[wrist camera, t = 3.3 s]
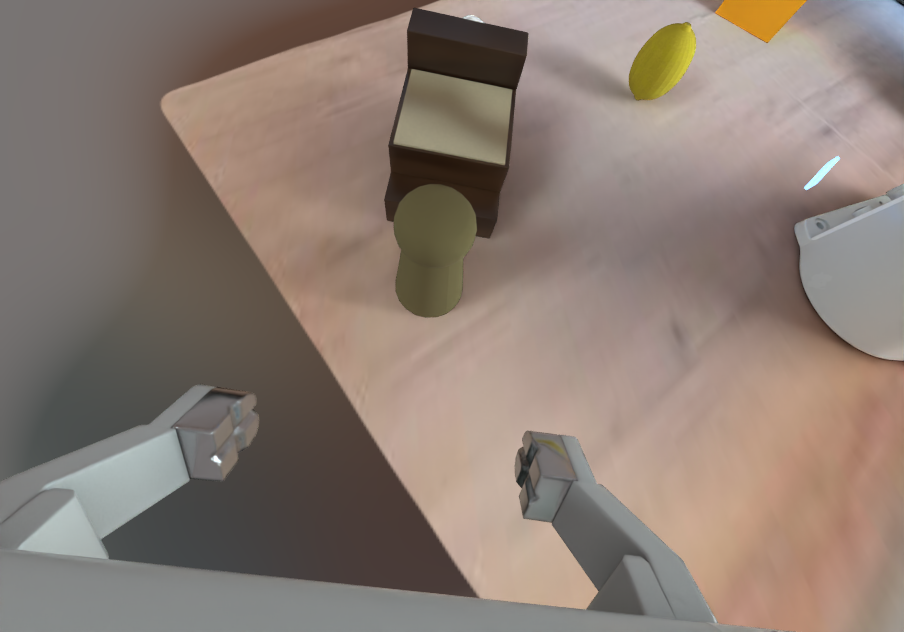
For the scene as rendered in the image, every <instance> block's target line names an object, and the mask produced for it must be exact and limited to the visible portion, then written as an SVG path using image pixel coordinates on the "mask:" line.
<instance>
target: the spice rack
mask: <svg viewBox="0 0 904 632" xmlns="http://www.w3.org/2000/svg"><path fill="white" fill-rule="evenodd" d="M527 45H528V32H523V31H518V30H514V29H509V28H505V27H500V26H495V25H491V24H486V23H482V22H477V21H473V20H468V19H463V18H459V17H454V16H450V15H445V14H440V13H436V12H431V11H427V10H422V9H418V8H413V11H412V15H411V18H410V22H409V26H408V29H407V49H408V70H407V74H406V78H405V82H404V86H403V90H402V94H401V98H400V102H399V105H398V109H397V113H396V117H395V121H394V125H393V129H392V133H391V137H390V141H389V145H388V146H389V157H390V167H391V174H390V178H389V182H388V187H387V191H386V195H385V199H384V201H385V208H386V216H387V220H388V221H394V216H395V213H396V211H397V208H398V205H399V203H400V202H401V200H402V199H403V198H404V197H405V196H406V195H407V194H408V193H409V192H411V191H413V190H414V189H416V188H418V187H420V186H424V185H428V184H441V185H445V186H448V187H452V188H453V189H455V190H457V191H458V192H460V193H461V194H462V195H463V196H464V197H465V198H466V199H467V200H468V201H469V203H470V204H471V206H472V208H473V210H474V212H475V215H476V224H477V232H476V236H479V237H485V238H490V236H491V234H492V232H493V229H494V227H495V224H496V222H497V216H498V206H499V196H500V191H501V188H502V185H503V183H504V180H505V177H506V175H507V172H508V169H509V161H510V151H511V140H512V129H513V118H514V107H515V96H516V89H517V86H518V83H519V79H520V76H521V73H522V70H523V66H524V63H525V60H526V56H527Z"/></svg>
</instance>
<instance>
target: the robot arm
mask: <svg viewBox="0 0 904 632" xmlns="http://www.w3.org/2000/svg"><path fill="white" fill-rule="evenodd" d="M839 159H840V158H839V157H838V156H837V157H836V158H834V159H832V160H831V161H829V162H828V163H827V164H826V165H825V166H824V167H823V168H822V169H821V170H820V171H819V172H818V173H817V174H816V175H815V176H814V178H813V179H812V180H811V181H810V182H809V183H808V184H807V185H806V186H805V187H804V188H805V189H806V190H807V189H809V188H811V187H812V186H814V185H816V184H817V183H818V182H819V181H820V180H821V179H822V178H823V177H824V175H825V174H826V173H827V172H828V171H829V170H830V169H831V168H832V167H833V166H834V165H835V163H836V162H837V161H838V160H839ZM886 193H887V194H886V195H882V196H879V197H876V198H872V199H869V200H866V201H863V202H860V203H856V204H853V205H850V206H847V207H843V208H840V209H837V210H834V211H830V212H827V213H824V214H821V215H817V216H814V217H811V218H808V219H805V220H803V221H800V222H798V223H796V224H795V227H794V230H795V234H796V238H797V240H798V243H799V246H800V263H799V268H800V276H801V280H802V284H803V287H804V290H805V292H806V294H807V296H808V298H809V300H810V302H811V304H812V305H813V307H814V308H815V310H816V311H817V313H818V314H819V315H820V317H821V318H822V319H823V320H824V322H825V323H826V324H827V325H828V326H829V327H830V328H831V329H832V330H833V331H834V332H835V333H836V334H838V335H839V336H840V337H841V338H842V339H844V340H845V341H846V342H848V343H849V344H851V345H852V346H854V347H856V348H857V349H859V350H861V351H863V352H865V353H867V354H870V355H872V356H875V357H878V358H883V359H888V360H899V361H904V184H902V185H900V186H898V187H896V188H894V189H892V190H890V191H888V192H886ZM256 404H257V401H256V395H255V394H254V393H251V392H246V391H240V390H234V389H227V388H221V387H213V386H206V385H201V384H200V385H197V386H193V387H192V388H191V389H190V390H189V391H187V392H186V393H185V394H184V395H183V396H181V397H180V398H179V399H178V400H177V401H176V402H174V403H173V404H172V405H171V406H170V407H169V408H167V409H166V410H165V411H164V412H163V413H162V414H160V415H159V416H158V417H157V418H156V419H155V420H153V421H152V422H151V423H150V424H149V425H139V426H137V427H134V428H132V429H129V430H127V431H124V432H122V433H119V434H117V435H114V436H112V437H109V438H107V439H104V440H102V441H99V442H97V443H94V444H92V445H89V446H87V447H84V448H81V449H79V450H77V451H74V452H71V453H69V454H67V455H64V456H61V457H59V458H56V459H54V460H52V461H49V462H46V463H44V464H41V465H39V466H36V467H34V468H31V469H29V470H26V471H24V472H21V473H19V474H16V475H14V476H11V477H9V478H6V479H4V480H2V481H1V482H0V632H794V631H785V630H775V629H766V628H756V627H747V626H737V625H728V624H718V622H717V620H716V619H715V617H714V615H713V613H712V611H711V610H710V608H709V606H708V604H707V602H706V601H705V599H704V597H703V595H702V594H701V592H700V590H699V588H698V586H697V585H696V583H695V581H694V579H693V578H692V576H691V574H690V572H689V570H688V569H687V567H686V565H685V563H684V561H683V560H682V559H681V558H680V557H679V556H678V555H677V554H676V553H675V552H673V551H672V550H671V549H670V548H669V547H668V546H667V545H666V544H665V543H664V542H663V541H662V540H661V539H660V538H659V537H657V536H656V535H655V534H654V533H653V532H652V531H651V530H650V529H649V528H648V527H647V526H646V525H645V524H644V523H642V522H641V521H640V520H639V519H638V518H637V517H636V516H635V515H634V514H633V513H632V512H631V511H630V510H629V509H628V508H626V507H625V506H624V505H623V504H622V503H621V502H620V501H619V500H618V499H617V498H616V497H615V496H614V495H613V494H611V493H610V492H609V491H608V490H607V489H606V488H605V487H604V486H603V485H601V484H597V483H596V480H595V478H594V476H593V474H592V471H591V469H590V467H589V464H588V462H587V460H586V458H585V455H584V453H583V451H582V448H581V446H580V444H579V442H578V439H577V438H576V437H574V436H566V435H557V434H550V433H542V432H534V431H526V432H525V433H524V436H523V438H522V442H523V447H522V448H520V449H519V450H518V452H517V455H516V460H515V477H516V482H517V483H518V485H519V486H520V487H521V488H522V490H521V492H520V495H519V499H520V504H521V509H522V515H523V518H524V519H531V520H537V521H544V522H551V523H552V525H553V527H554V528H555V530H556V531H557V533H558V534H559V535H560V537H561V538H562V540H563V541H564V543H565V544H566V545H567V547H568V548H569V550H570V551H571V553H572V554H573V555H574V557H575V558H576V560H577V561H578V563H579V564H580V565H581V567H582V568H583V570H584V571H585V573H586V574H587V575H588V577H589V578H590V580H591V581H592V583H593V584H594V585H595V587H596V588H597V590H598V591H599V592H598V593H597V595H596V596H595V597H594V599H593V600H592V602H591V603H590V605H589V606H588V608H587V609H586V610H585V609H576V608H566V607H557V606H547V605H538V604H528V603H518V602H509V601H500V600H490V599H481V598H471V597H462V596H452V595H443V594H434V593H424V592H415V591H405V590H395V589H386V588H377V587H368V586H358V585H349V584H339V583H329V582H320V581H311V580H300V579H291V578H281V577H271V576H263V575H253V574H244V573H234V572H225V571H215V570H206V569H196V568H187V567H178V566H168V565H159V564H148V563H140V562H130V561H120V560H111V559H109V557H108V556H109V554H108V552H107V551H106V548H105V547H104V545H103V543H102V541H101V539H102V538H103V537H105V536H106V535H108V534H110V533H111V532H112V531H114V530H116V529H117V528H119V527H120V526H122V525H123V524H125V523H126V522H128V521H129V520H131V519H132V518H134V517H135V516H137V515H138V514H140V513H141V512H143V511H144V510H146V509H147V508H149V507H150V506H152V505H153V504H155V503H156V502H158V501H159V500H161V499H162V498H164V497H166V496H167V495H169V494H170V493H172V492H173V491H174V490H176V489H178V488H179V487H181V486H182V485H184V484H185V483H187V482H188V481H189V480H190V479H200V480H210V481H221V482H223V481H224V480H225V479H226V477H227V476H228V474H229V473H230V472H231V470H232V469H233V468H234V466H235V465H236V464H237V462H238V453H239V452H241V451H243V450H244V449H246V448H248V447H249V445H250V444H251V443H252V441H253V440H254V438H255V435H256V433H257V430H258V425H259V416H258V414H257V413H256V412H255V411H254V409H253V407H254V406H255V405H256Z"/></svg>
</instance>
